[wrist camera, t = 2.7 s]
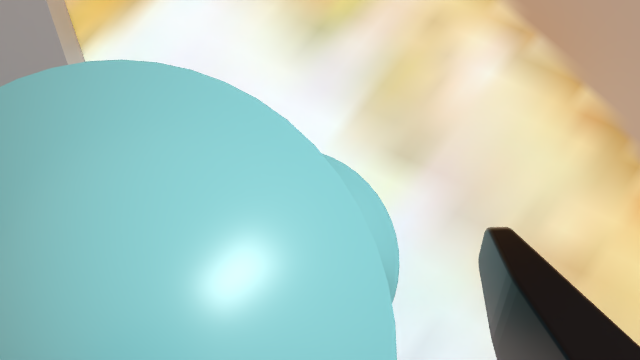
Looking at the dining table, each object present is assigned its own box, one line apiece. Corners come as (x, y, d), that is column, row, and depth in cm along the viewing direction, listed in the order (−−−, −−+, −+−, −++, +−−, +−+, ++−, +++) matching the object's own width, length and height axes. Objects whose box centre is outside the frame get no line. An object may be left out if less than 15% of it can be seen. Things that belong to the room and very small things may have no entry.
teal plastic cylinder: (358, 362, 17) (393, 1033, 3) (197, 307, 17) (-434, 628, 3) (406, 196, 17) (642, 57, 3) (249, 149, 18) (-116, -137, 4)
